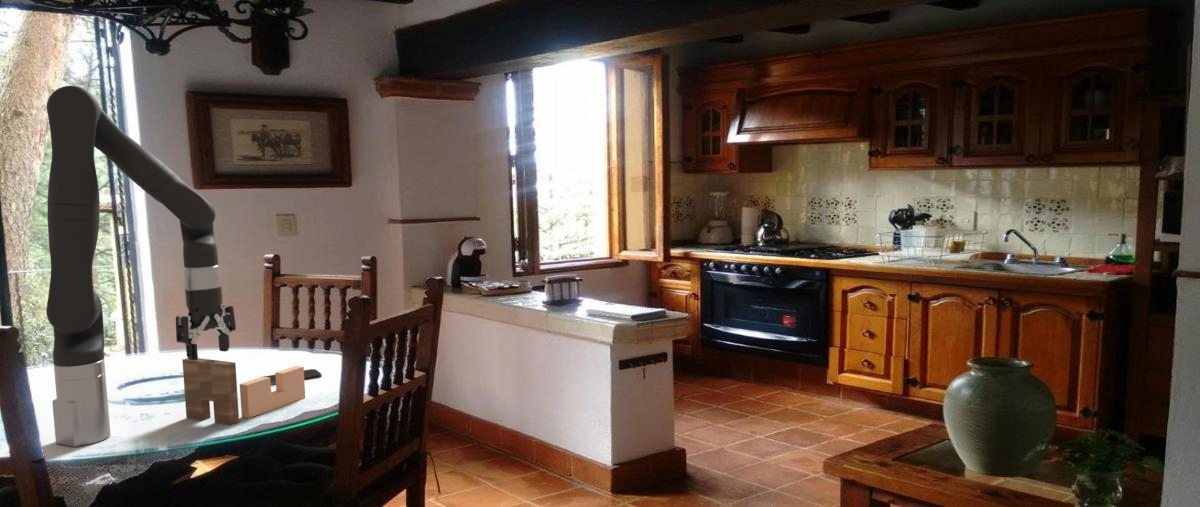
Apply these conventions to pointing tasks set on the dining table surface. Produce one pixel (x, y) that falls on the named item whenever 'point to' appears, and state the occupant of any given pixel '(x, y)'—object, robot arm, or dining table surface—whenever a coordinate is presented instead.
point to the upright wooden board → (211, 390)
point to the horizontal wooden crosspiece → (263, 400)
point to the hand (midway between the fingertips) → (208, 355)
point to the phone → (307, 375)
